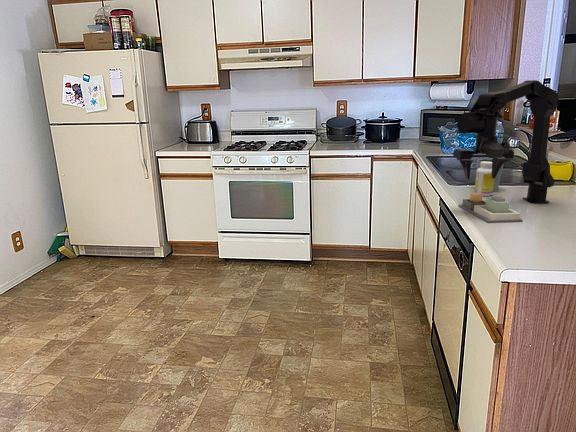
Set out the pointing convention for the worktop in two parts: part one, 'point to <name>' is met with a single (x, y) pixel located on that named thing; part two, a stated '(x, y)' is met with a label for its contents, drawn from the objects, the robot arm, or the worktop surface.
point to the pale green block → (497, 205)
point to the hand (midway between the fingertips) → (480, 178)
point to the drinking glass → (498, 176)
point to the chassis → (489, 213)
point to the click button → (475, 198)
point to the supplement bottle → (484, 179)
